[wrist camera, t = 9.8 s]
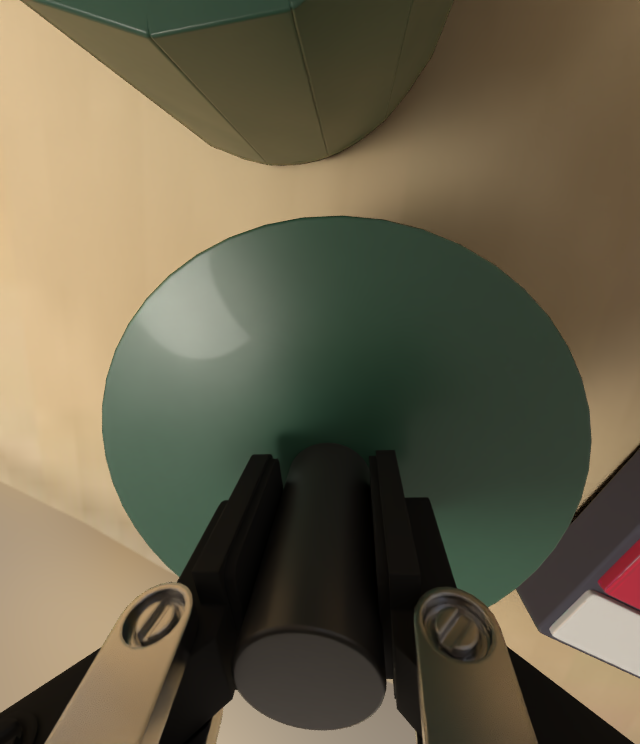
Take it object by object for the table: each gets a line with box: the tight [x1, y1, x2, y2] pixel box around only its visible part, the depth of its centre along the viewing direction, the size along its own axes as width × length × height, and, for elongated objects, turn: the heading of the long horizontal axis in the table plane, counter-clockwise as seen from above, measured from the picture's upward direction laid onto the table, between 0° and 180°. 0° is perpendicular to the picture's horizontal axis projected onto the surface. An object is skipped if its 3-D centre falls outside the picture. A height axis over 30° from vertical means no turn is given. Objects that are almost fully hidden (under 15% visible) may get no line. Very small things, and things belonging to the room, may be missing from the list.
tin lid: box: [102, 216, 591, 730], centre depth 9 cm, size 15×15×7 cm
